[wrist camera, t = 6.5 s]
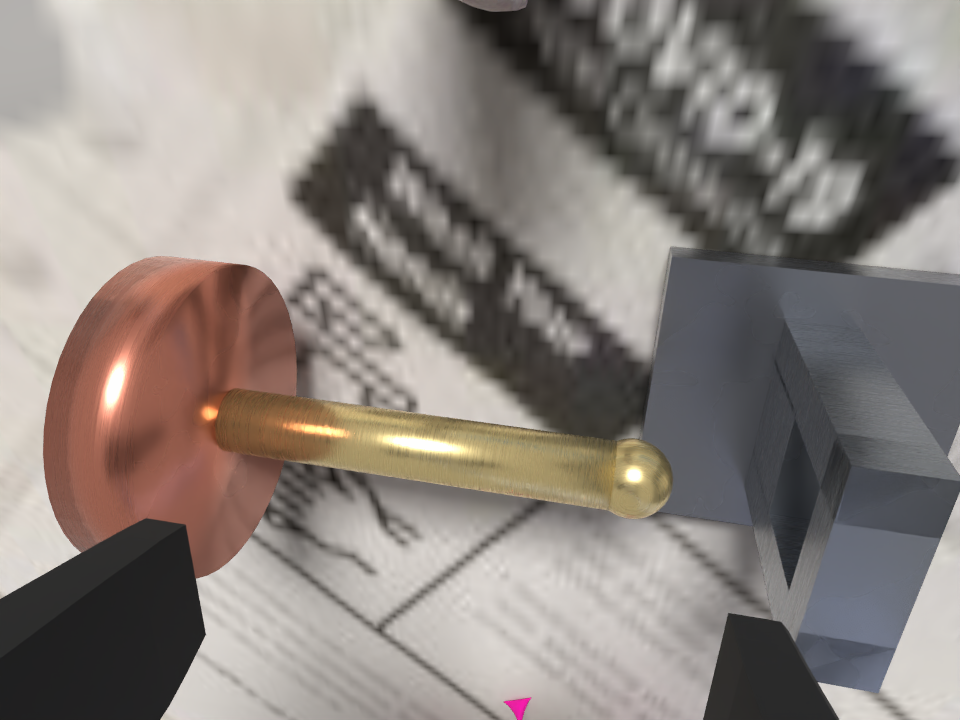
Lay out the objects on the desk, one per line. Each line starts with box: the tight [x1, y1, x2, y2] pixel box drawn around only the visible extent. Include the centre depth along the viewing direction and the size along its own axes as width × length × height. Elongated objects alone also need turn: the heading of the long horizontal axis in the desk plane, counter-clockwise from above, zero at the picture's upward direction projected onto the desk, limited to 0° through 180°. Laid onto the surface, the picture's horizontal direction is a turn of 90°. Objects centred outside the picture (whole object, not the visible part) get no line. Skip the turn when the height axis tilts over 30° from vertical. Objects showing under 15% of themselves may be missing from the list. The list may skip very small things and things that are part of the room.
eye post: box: [639, 247, 960, 693], centre depth 15 cm, size 7×7×7 cm
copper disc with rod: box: [43, 256, 673, 578], centre depth 16 cm, size 11×7×7 cm, turn 88°
